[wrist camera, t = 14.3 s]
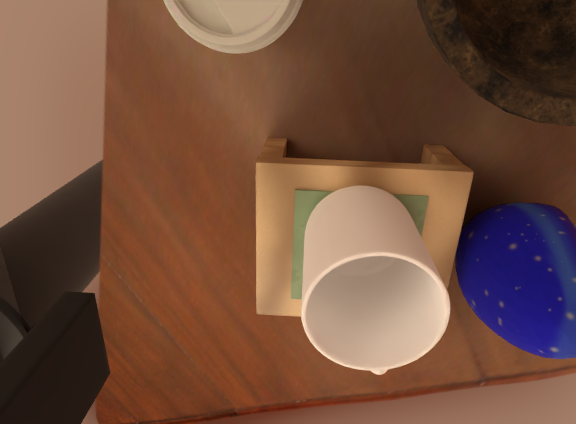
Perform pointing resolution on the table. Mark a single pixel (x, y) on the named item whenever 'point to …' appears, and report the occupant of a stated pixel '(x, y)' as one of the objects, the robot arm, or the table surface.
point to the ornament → (522, 276)
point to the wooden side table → (336, 175)
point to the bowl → (511, 52)
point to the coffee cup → (234, 22)
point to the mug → (369, 282)
